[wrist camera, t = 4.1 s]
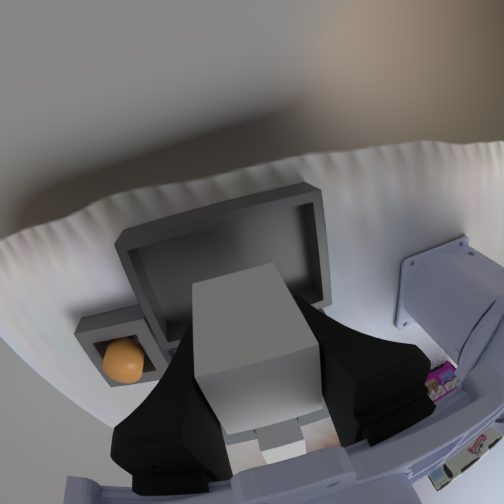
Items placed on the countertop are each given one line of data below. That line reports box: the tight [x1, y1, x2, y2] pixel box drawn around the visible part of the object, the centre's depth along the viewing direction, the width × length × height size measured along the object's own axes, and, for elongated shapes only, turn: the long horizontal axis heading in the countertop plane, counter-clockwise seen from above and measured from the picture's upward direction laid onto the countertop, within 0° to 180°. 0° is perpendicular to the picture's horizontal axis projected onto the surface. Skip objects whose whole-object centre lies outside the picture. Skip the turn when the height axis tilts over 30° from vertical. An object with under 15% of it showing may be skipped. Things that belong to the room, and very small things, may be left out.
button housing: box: [74, 304, 173, 387], centre depth 20 cm, size 6×6×2 cm
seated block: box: [255, 418, 306, 465], centre depth 24 cm, size 4×4×6 cm
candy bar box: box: [425, 361, 504, 491], centre depth 25 cm, size 11×5×16 cm, turn 97°
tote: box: [114, 182, 332, 350], centre depth 18 cm, size 12×8×2 cm
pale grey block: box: [192, 262, 322, 435], centre depth 12 cm, size 4×4×6 cm
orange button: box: [102, 337, 145, 383], centre depth 19 cm, size 3×3×2 cm
